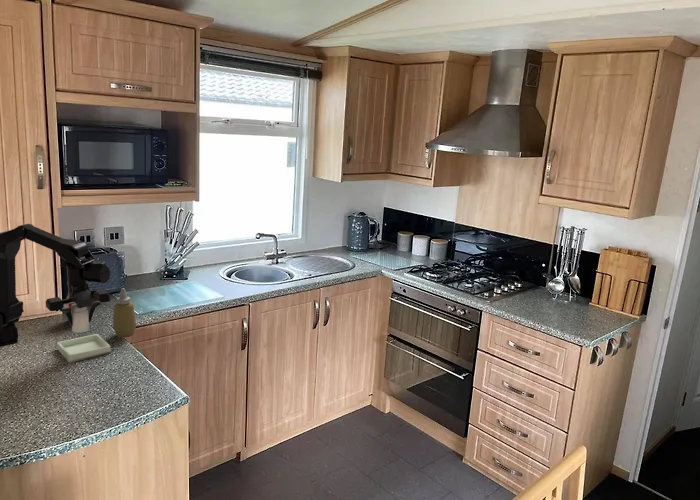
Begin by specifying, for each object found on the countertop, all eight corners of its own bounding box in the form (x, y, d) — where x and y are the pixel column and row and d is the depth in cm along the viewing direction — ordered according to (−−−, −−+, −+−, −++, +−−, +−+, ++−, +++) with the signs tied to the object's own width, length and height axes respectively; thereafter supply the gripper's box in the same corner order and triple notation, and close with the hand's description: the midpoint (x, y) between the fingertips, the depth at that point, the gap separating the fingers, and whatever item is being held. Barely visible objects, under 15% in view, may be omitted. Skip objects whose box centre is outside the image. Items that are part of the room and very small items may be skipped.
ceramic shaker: (74, 333, 179) (73, 308, 177) (70, 328, 183) (68, 303, 181) (91, 330, 183) (89, 305, 180) (86, 325, 186) (84, 300, 184)
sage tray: (68, 362, 176) (68, 355, 175) (57, 349, 185) (57, 342, 185) (110, 353, 185) (110, 346, 184) (97, 340, 194) (97, 333, 193)
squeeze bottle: (140, 331, 204) (138, 285, 200) (132, 339, 196) (130, 292, 192) (118, 330, 203) (115, 284, 199) (109, 338, 196) (107, 291, 191)
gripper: (53, 291, 167) (56, 338, 170) (115, 281, 179) (117, 325, 183) (43, 282, 175) (47, 327, 178) (103, 273, 187) (105, 315, 191)
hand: (80, 324), depth 182 cm, fingers closed on ceramic shaker, 5 cm apart
